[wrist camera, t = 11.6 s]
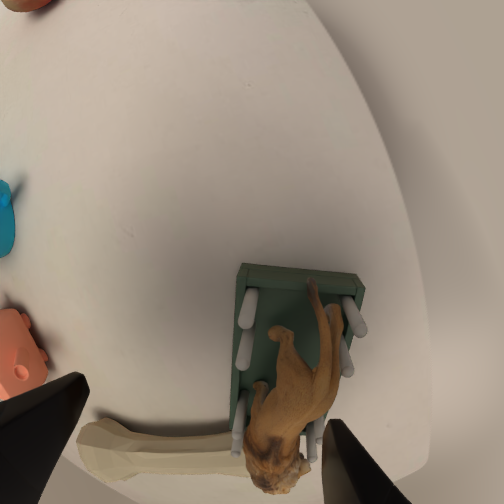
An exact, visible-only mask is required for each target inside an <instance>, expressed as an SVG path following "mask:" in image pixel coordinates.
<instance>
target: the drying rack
mask: <svg viewBox="0 0 504 504" xmlns="http://www.w3.org/2000/svg"><path fill="white" fill-rule="evenodd" d="M309 277H312V278H314V279H315V281H316V285H317V286H318V296H319V300H320V302H321V304H322V306H323V309H324V308H325V307H326V306H327V305H328V304H331V303H334V304H338V305H339V306H340V307H341V316H342V320H343V324H344V328H343V332H342V334H341V339H340V345H339V368H340V377H341V374H342V376H344V377H346V378H348V377H351V376H352V375H353V374H354V366H353V363H352V360H351V357H350V354H349V349H350V346H351V342H352V339H353V336H354V335H355V336H356V337H358V338H362V337H364V336H365V335H366V334H367V332H368V328H367V326H366V324H365V322H364V320H363V318H362V316H361V314H360V309H361V305H362V301H363V297H364V293H365V289H366V288H365V286H364V285H363V284H362V282H361V281H360V279H359V278H358V276H357V275H356V274H350V273H339V272H328V271H317V270H307V269H296V268H286V267H276V266H266V265H256V264H246V263H242V265H241V267H240V270H239V272H238V275H237V281H236V298H235V316H234V334H233V354H232V374H231V396H230V420H229V429H232V437H233V443H232V448H231V456H232V457H234V458H237V457H239V456H240V455H241V451H242V444H243V437H244V432H245V431H246V429H247V427H248V425H250V420H251V407H252V404H253V401H254V397H255V394H256V390H255V389H254V388H253V384H254V382H257V381H264V382H266V383H267V384H268V387H269V391H268V394H269V393H270V392H271V391H272V389H274V388H275V387H276V381H277V371H276V365H277V358H278V354H279V349H280V342H275V341H273V340H271V339H270V338H269V336H268V330H269V329H270V328H271V327H273V326H276V325H280V326H283V327H285V328H286V329H288V330H291V331H292V332H294V341H293V345H294V348H295V349H296V351H297V352H298V354H299V355H300V356H301V357H302V358H303V359H304V361H305V362H306V363H307V364H308V366H309V367H310V368H311V369H314V368H315V367H316V366H317V364H318V362H319V359H320V333H319V327H318V321H317V317H316V314H315V311H314V308H313V306H312V304H311V302H310V300H309V299H308V296H307V278H309ZM328 323H329V324H330V322H328ZM339 380H340V378H339ZM268 394H267V396H268ZM328 411H329V410H328ZM328 411H327V412H326V413H325V414H324V415H322V416H321V417H319V418H318V419H316V420H313V421H311V422H309V423H307V425H306V426H305V428H304V429H303V430H302V431H301V432H300V433H299V435H306V444H307V460H308V461H309V462H311V463H313V462H315V461H316V460H317V447H316V443H317V444H318V445H322V437H323V432H324V430H325V425H324V421H325V418H326V416H327V413H328Z"/></svg>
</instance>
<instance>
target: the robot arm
mask: <svg viewBox="0 0 504 504" xmlns="http://www.w3.org/2000/svg"><path fill="white" fill-rule="evenodd" d="M89 393H90V389H89V386H88V383H87V380H86V378H85V376H84V374H81V373H79V372H72V373H70V374H68V375H65V376H63V377H61V378H58V379H56V380H53V381H51V382H49V383H46V384H44V385H42V386H39V387H37V388H34V389H32V390H29V391H27V392H25V393H22V394H20V395H17V396H15V397H12V398H10V399H7V400H4V401H2V402H0V504H38V502H39V500H40V497H41V494H42V492H43V490H44V488H45V486H46V483H47V482H48V479H49V477H50V475H51V473H52V471H53V469H54V467H55V465H56V463H57V461H58V459H59V457H60V455H61V453H62V451H63V449H64V447H65V445H66V444H67V442H68V440H69V438H70V436H71V434H72V432H73V430H74V428H75V427H76V425H77V423H78V420H79V418H80V415H81V413H82V411H83V408H84V406H85V403H86V401H87V399H88V396H89ZM322 484H323V495H324V504H412V503H411V502H410V501H409V500H407V498H406V497H405V496H404V495H403V494H402V493H401V492H400V491H399V489H398V488H397V487H396V486H395V485H394V484H393V482H392V481H391V480H390V479H389V478H388V476H387V475H386V474H385V473H384V472H383V470H382V469H381V468H380V467H379V465H378V464H377V463H376V462H375V461H374V459H373V458H372V457H371V456H370V454H369V453H368V452H367V451H366V450H365V448H364V447H363V446H362V445H361V443H360V442H359V441H358V440H357V438H356V437H355V436H354V435H353V433H352V432H351V431H350V430H349V428H348V427H347V426H346V424H345V423H344V422H343V421H342V420H341V419H330V420H329V421H328V423H327V425H326V427H325V430H324V432H323V437H322ZM393 485H394V486H393Z"/></svg>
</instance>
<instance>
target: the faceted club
mask: <svg viewBox="0 0 504 504" xmlns="http://www.w3.org/2000/svg"><path fill="white" fill-rule="evenodd" d="M244 433H245V432H244ZM76 443H77V447H78V451H79V454H80V458H81V460H82V461H83V463H84V465H85V467H86V468H87V470H88V471H89V472H91V473H92V474H94V475H95V476H96V477H98V478H99V479H101V480H102V481H104V482H105V483H108V482H116V481H118V480H124V481H125V480H127V479H129V478H131V477H133V476H135V475H136V474H138V473H155V474H223V475H231V476H240V477H251V476H250V473H249V472H248V471H247V468H246V459H245V454H244V452H243V447H244V445H243V444H242V451H241V455H240V456H239V457H237V458H234V457H232V456H231V448H232V443H233V437H232V431H229V432H224V433H219V434H214V435H205V436H190V437H163V436H155V435H148V434H142V433H136V432H131V431H129V430H128V429H126V428H125V427H123V426H122V425H121V424H119V423H118V422H116V421H115V420H112V419H110V418H107V417H105V418H103V419H101V420H99V421H97V422H92V423H88V424H86V425H85V426H83V427H82V428H81V430H80V433H79V435H78V437H77V440H76Z"/></svg>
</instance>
